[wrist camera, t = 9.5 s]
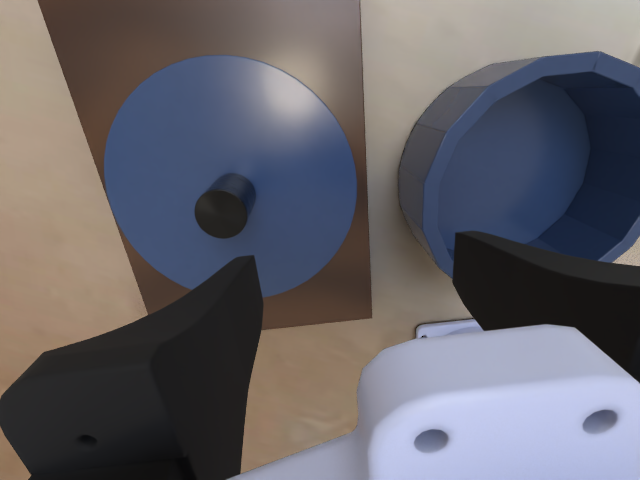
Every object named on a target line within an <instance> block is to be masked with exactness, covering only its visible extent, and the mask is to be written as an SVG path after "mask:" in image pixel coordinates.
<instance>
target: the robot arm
mask: <svg viewBox="0 0 640 480" xmlns="http://www.w3.org/2000/svg"><path fill="white" fill-rule="evenodd" d="M452 283H453V285H454V287H455V289H456V291H457V293H458V295H459V296H460V298H461V300H462V302H463V304H464V305H465V307H466V308H467V309H468V311H469V312H470V313H471V315H472V316H473V317H474V319H470V320H460V321H451V322H442V323H432V324H423V325H420V326H418V327H417V329H416V339H413V340H410V341H407V342H404V343H401V344H398V345H394V346H391V347H388V348H385V349H383V350H382V351H381V352H380V353H379V354H378V355H377V356H376V357H375V358H373V359H372V360H371V361H370V362H369V363H368V364H367V365H366V366H365V367H364V368H363V369H362V373H361V377H360V380H359V384H358V388H357V403H358V423H357V426H356V429H355V430H354V431H352V432H351V433H348V434H345V435H343V436H340V437H337V438H335V439H332V440H329V441H327V442H324V443H321V444H319V445H316V446H313V447H311V448H308V449H305V450H303V451H300V452H298V453H295V454H292V455H290V456H287V457H284V458H282V459H279V460H276V461H274V462H271V463H268V464H266V465H263V466H260V467H258V468H255V469H252V470H250V471H247V472H245V473H242V474H240V471H241V457H242V445H243V435H244V424H245V414H246V405H247V396H248V389H249V383H250V378H251V373H252V369H253V365H254V360H255V356H256V352H257V347H258V343H259V338H260V334H261V329H262V321H263V307H264V303H263V297H262V292H261V287H260V282H259V277H258V272H257V267H256V262H255V257H254V255H249V256H240V257H236V258H234V259H233V260H231V261H230V262H229V263H227V264H226V265H225V266H223V267H222V268H221V269H220V270H218V271H217V272H216V273H215V274H213V275H212V276H211V277H210V278H208V279H207V280H206V281H204V282H203V283H201V284H200V285H199V286H197V287H196V288H194V289H193V290H192V291H190V292H189V293H187V294H186V295H184V296H183V297H181V298H179V299H178V300H176V301H174V302H173V303H171V304H169V305H167V306H166V307H164V308H162V309H160V310H158V311H156V312H154V313H152V314H150V315H148V316H145V317H143V318H141V319H139V320H137V321H135V322H133V323H130V324H128V325H125V326H123V327H120V328H118V329H115V330H113V331H110V332H107V333H105V334H102V335H99V336H96V337H93V338H90V339H87V340H84V341H81V342H77V343H74V344H70V345H67V346H64V347H60V348H57V349H54V350H50V351H46V352H44V353H42V354H41V355H40V356H39V358H38V359H37V360H36V361H35V362H34V363H33V364H32V365H31V366H30V367H29V368H28V369H27V370H26V371H25V372H24V373H23V374H22V375H21V376H20V377H19V378H18V379H17V380H16V381H15V382H14V383H13V384H12V385H11V386H10V387H9V388H8V389H7V390H6V391H5V393H4V394H3V395H2V396H1V399H0V426H1V428H2V430H3V433H4V435H5V436H6V438H7V439H8V441H9V442H10V444H11V445H12V447H13V448H14V450H15V451H16V453H17V454H18V456H19V457H20V459H21V460H22V462H23V463H24V465H25V466H26V468H27V469H28V471H29V472H30V474H31V477H30V478H29V479H28V480H640V266H632V265H624V264H616V263H609V262H602V261H596V260H590V259H585V258H579V257H574V256H569V255H565V254H560V253H556V252H552V251H548V250H544V249H540V248H537V247H533V246H529V245H526V244H522V243H519V242H516V241H512V240H509V239H506V238H502V237H499V236H495V235H492V234H488V233H484V232H480V231H463V232H455V246H454V263H453V279H452ZM423 335H425V336H424V337H422V338H421V336H423Z"/></svg>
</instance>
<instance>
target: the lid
mask: <svg viewBox="0 0 640 480" xmlns="http://www.w3.org/2000/svg"><path fill="white" fill-rule="evenodd" d="M104 179H105V186H106V192H107V196H108V199H109V203H110V207H111V209H112V212H113V214H114V216H115V219H116V221H117V223H118V225H119V227H120V228H121V230H122V232H123V233H124V235H125V237H126V238H127V239H128V241H129V242H130V243H131V245H132V246H133V248H134V249H135V250H136V251H137V252H138V253H139V254H140V255H141V256H142V257H143V258H144V260H145V261H147V262H148V263H149V264H150V265H151V266H152V267H154V268H155V269H156V270H157V271H159V272H160V273H161V274H163V275H164V276H166V277H167V278H169V279H170V280H172V281H174V282H176V283H178V284H180V285H182V286H184V287H186V288H188V289H191V290H193V289H194V288H196V287H197V286H199V285H200V284H201V283H203V282H204V281H206V280H207V279H208V278H210V277H211V276H212V275H213V274H215V273H216V272H217V271H218V270H220V269H221V268H222V267H223V266H225V265H226V264H227V263H229V262H230V261H231V260H233V259H234V258H236V257H240V256H249V255H254V257H255V262H256V267H257V272H258V277H259V282H260V287H261V292H262V297H269V296H272V295H276V294H279V293H283V292H285V291H287V290H290V289H292V288H295V287H297V286H298V285H300V284H302V283H304V282H305V281H307V280H308V279H310V278H311V277H313V276H314V275H315V274H317V273H318V272H319V271H320V270H321V269H322V268H323V267H324V266H325V265H326V264H327V263H328V262H329V261H330V260H331V259H332V257H333V256H334V255H335V254H336V252H337V251H338V249H339V248H340V246H341V245H342V243H343V241H344V240H345V237H346V235H347V233H348V231H349V228H350V226H351V222H352V219H353V216H354V212H355V206H356V199H357V177H356V169H355V163H354V159H353V155H352V151H351V148H350V146H349V143H348V141H347V138H346V136H345V133H344V132H343V130H342V128H341V126H340V125H339V123H338V121H337V119H336V118H335V116H334V115H333V114H332V112H331V111H330V110H329V108H328V107H327V106H326V104H325V103H324V102H323V101H322V100H321V99H320V98H319V97H318V96H317V95H316V94H315V93H314V92H313V91H312V90H311V89H309V88H308V87H307V86H306V85H304V84H303V83H302V82H301V81H299V80H298V79H296V78H295V77H293V76H291V75H290V74H288V73H286V72H285V71H283V70H281V69H279V68H276V67H274V66H272V65H269V64H267V63H265V62H262V61H258V60H254V59H250V58H247V57H240V56H232V55H205V56H199V57H194V58H188V59H185V60H182V61H179V62H176V63H173V64H171V65H169V66H167V67H165V68H163V69H161V70H159V71H157V72H155V73H154V74H153V75H151V76H150V77H149V78H147V79H146V80H145V81H143V82H142V83H141V84H140V85H139V86H138V87H137V88H136V89H135V90H134V91H133V92H132V93H131V94H130V95H129V96H128V97H127V99H126V100H125V102H124V103H123V105H122V106H121V108H120V109H119V110H118V113H117V115H116V117H115V119H114V121H113V123H112V125H111V128H110V131H109V135H108V138H107V141H106V148H105V155H104Z"/></svg>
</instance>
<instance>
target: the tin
mask: <svg viewBox="0 0 640 480" xmlns="http://www.w3.org/2000/svg"><path fill="white" fill-rule="evenodd" d="M398 190H399V199H400V206H401V208H402V211H403V214H404V217H405V219H406V221H407V223H408V225H409V226H410V228H411V231H412V233H413V235H414V237H415V238H416V239H417V240H418V242H419V243H420V244H421V246H422V247H423V248H424V249H425V251H426V252H427V253H428V255H429V256H430V257H431V258H432V260H433V261H434V262H435V263H436V265H437V266H438V267H439V268H440V269H441V270H442V271H443V272H444V273H446V274H447V275H448V276H449V277H451V278H452V279H453V263H454V246H455V232H463V231H480V232H484V233H488V234H492V235H495V236H499V237H502V238H506V239H509V240H512V241H516V242H519V243H522V244H526V245H529V246H533V247H537V248H540V249H544V250H548V251H552V252H556V253H560V254H565V255H569V256H574V257H579V258H585V259H590V260H596V261H602V262H609V263H612V262H613V261H615V260H616V259H617V258H618V257H620V256H621V255H622V254H623V253H625V252H626V251H627V250H628V249H630V247H632V246H633V245H634V243H635V242H636V240H637V239H638V238H639V236H640V68H639V67H637V66H634V65H632V64H629V63H627V62H625V61H622V60H620V59H617V58H615V57H613V56H610V55H608V54H605V53H603V52H599V51H594V52H584V53H575V54H565V55H555V56H545V57H537V58H531V59H524V60H517V61H510V62H503V63H496V64H491V65H489V66H487V67H485V68H483V69H481V70H478V71H476V72H474V73H472V74H470V75H468V76H466V77H464V78H463V79H461V80H459V81H458V82H456V83H455V84H453V85H452V86H450V87H449V88H447V89H446V90H445V91H444V92H443V93H442V94H440V95H439V97H438V98H437V99H436V100H435V101H434V102H433V103H432V104H431V105H430V106H429V107H428V108H427V109H426V111H425V112H424V113H423V115H422V116H421V117H420V119H419V120H418V122H417V123H416V125H415V127H414V128H413V130H412V132H411V134H410V136H409V138H408V141H407V143H406V145H405V148H404V151H403V155H402V158H401V163H400V168H399V178H398Z"/></svg>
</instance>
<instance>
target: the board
mask: <svg viewBox="0 0 640 480" xmlns="http://www.w3.org/2000/svg"><path fill="white" fill-rule="evenodd" d="M38 3H39V6H40V9H41V11H42V14H43V17H44V20H45V23H46V26H47V28H48V31H49V34H50V37H51V40H52V43H53V45H54V48H55V51H56V54H57V57H58V60H59V62H60V65H61V68H62V71H63V74H64V77H65V79H66V82H67V85H68V88H69V91H70V94H71V97H72V99H73V102H74V105H75V108H76V111H77V114H78V116H79V119H80V122H81V125H82V128H83V131H84V133H85V136H86V139H87V142H88V145H89V148H90V150H91V153H92V156H93V159H94V162H95V165H96V167H97V170H98V173H99V176H100V179H101V182H102V185H103V187H104V190H105V193H106V196H107V192H106V186H105V179H104V155H105V148H106V141H107V138H108V135H109V131H110V128H111V125H112V123H113V121H114V119H115V117H116V115H117V113H118V110H119V109H120V108H121V106H122V105H123V103H124V102H125V100H126V99H127V97H128V96H129V95H130V94H131V93H132V92H133V91H134V90H135V89H136V88H137V87H138V86H139V85H140V84H141V83H142V82H143V81H145V80H146V79H147V78H149V77H150V76H151V75H153V74H154V73H155V72H157V71H159V70H161V69H163V68H165V67H167V66H169V65H171V64H173V63H176V62H179V61H182V60H185V59H188V58H194V57H199V56H205V55H232V56H240V57H247V58H250V59H254V60H258V61H262V62H265V63H267V64H269V65H272V66H274V67H276V68H279V69H281V70H283V71H285V72H286V73H288V74H290V75H291V76H293V77H295V78H296V79H298V80H299V81H301V82H302V83H303V84H304V85H306V86H307V87H308V88H309V89H311V90H312V91H313V92H314V93H315V94H316V95H317V96H318V97H319V98H320V99H321V100H322V101H323V102H324V103H325V104H326V106H327V107H328V108H329V110H330V111H331V112H332V114H333V115H334V116H335V118H336V119H337V121H338V123H339V125H340V126H341V128H342V130H343V132H344V133H345V136H346V138H347V141H348V143H349V146H350V148H351V151H352V155H353V159H354V163H355V169H356V177H357V199H356V206H355V212H354V216H353V219H352V222H351V226H350V228H349V231H348V233H347V235H346V237H345V240H344V241H343V243H342V245H341V246H340V248H339V249H338V251H337V252H336V254H335V255H334V256H333V257H332V259H331V260H330V261H329V262H328V263H327V264H326V265H325V266H324V267H323V268H322V269H321V270H320V271H319V272H318V273H317V274H315V275H314V276H313V277H311V278H310V279H308V280H307V281H305V282H304V283H302V284H300V285H298V286H297V287H295V288H292V289H290V290H287V291H285V292H283V293H279V294H276V295H272V296H269V297H263V303H264V307H263V321H262V329H261V330H266V329H275V328H285V327H294V326H303V325H313V324H322V323H331V322H341V321H350V320H359V319H369V318H372V300H371V274H370V248H369V222H368V196H367V170H366V143H365V117H364V91H363V65H362V39H361V13H360V0H38ZM107 199H108V196H107ZM108 202H109V199H108ZM109 204H110V203H109ZM111 210H112V209H111ZM112 213H113V212H112ZM113 216H114V214H113ZM114 219H115V216H114ZM115 221H116V219H115ZM116 224H117V227H118V230H119V233H120V236H121V238H122V241H123V244H124V247H125V250H126V253H127V255H128V258H129V261H130V264H131V267H132V270H133V273H134V275H135V278H136V281H137V284H138V287H139V290H140V292H141V295H142V298H143V301H144V304H145V307H146V309H147V312H148V315H150V314H152V313H154V312H156V311H158V310H160V309H162V308H164V307H166V306H167V305H169V304H171V303H173V302H174V301H176V300H178V299H179V298H181V297H183V296H184V295H186V294H187V293H189V292H190V291H192V290H191V289H188V288H186V287H184V286H182V285H180V284H178V283H176V282H174V281H172V280H170V279H169V278H167V277H166V276H164V275H163V274H161V273H160V272H159V271H157V270H156V269H155V268H154V267H152V266H151V265H150V264H149V263H148V262H147V261H145V260H144V258H143V257H142V256H141V255H140V254H139V253H138V252H137V251H136V250H135V249H134V248H133V246H132V245H131V243H130V242H129V241H128V239H127V238H126V237H125V235H124V233H123V232H122V230H121V228H120V227H119V225H118V223H117V221H116Z"/></svg>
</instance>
